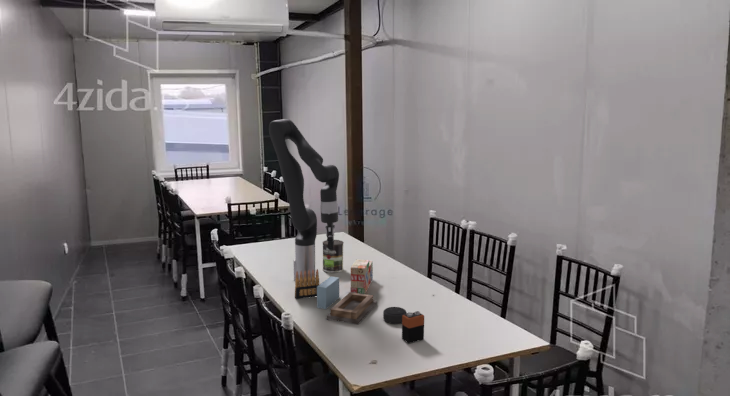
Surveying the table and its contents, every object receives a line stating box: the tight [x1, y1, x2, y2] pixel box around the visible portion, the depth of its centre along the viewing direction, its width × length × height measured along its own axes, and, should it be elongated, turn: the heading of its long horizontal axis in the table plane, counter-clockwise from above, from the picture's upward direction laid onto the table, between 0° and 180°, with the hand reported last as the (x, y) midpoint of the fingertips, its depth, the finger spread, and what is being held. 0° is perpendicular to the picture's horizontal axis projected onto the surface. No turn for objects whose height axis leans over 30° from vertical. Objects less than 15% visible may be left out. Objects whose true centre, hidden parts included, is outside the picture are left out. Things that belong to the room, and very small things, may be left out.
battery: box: [401, 310, 425, 344], centre depth 192 cm, size 4×7×10 cm, turn 121°
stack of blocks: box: [350, 259, 374, 294], centre depth 247 cm, size 21×6×12 cm, turn 169°
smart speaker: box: [382, 306, 408, 325], centre depth 210 cm, size 9×9×4 cm
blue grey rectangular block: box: [316, 276, 340, 310], centre depth 227 cm, size 4×14×9 cm, turn 160°
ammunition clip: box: [294, 268, 320, 300], centre depth 233 cm, size 11×2×12 cm, turn 112°
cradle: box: [326, 291, 378, 325], centre depth 217 cm, size 13×22×4 cm, turn 160°
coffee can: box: [322, 239, 344, 273], centre depth 272 cm, size 10×10×14 cm
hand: (331, 247), depth 243 cm, fingers open, 8 cm apart
